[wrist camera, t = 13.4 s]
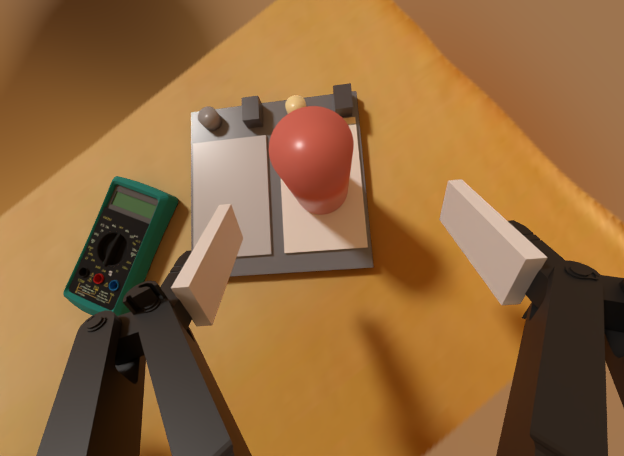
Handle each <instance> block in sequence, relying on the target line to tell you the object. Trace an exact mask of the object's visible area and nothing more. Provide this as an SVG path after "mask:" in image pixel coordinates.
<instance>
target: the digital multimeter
mask: <svg viewBox="0 0 624 456" xmlns="http://www.w3.org/2000/svg"><path fill="white" fill-rule="evenodd" d="M177 204H178V199H177V198H176V197H174V196H172V195H170V194H168V193H165V192H163V191H161V190H158V189H156V188H153V187H150V186H148V185H145V184H142V183H140V182H137V181H133V180H130V179H126V178H122V177H118V176H116V177H114V179H113V180H112V182H111V185H110V187H109V190H108V192H107V194H106V197H105V199H104V202H103V204H102V207H101V209H100V211H99V214H98V216H97V219H96V221H95V223H94V226H93V228H92V230H91V232H90V235H89V237H88V239H87V242H86V244H85V246H84V248H83V251H82V253H81V255H80V257H79V259H78V261H77V264H76V266H75V268H74V270H73V272H72V275H71V277H70V279H69V281H68V283H67V285H66V288H65V290H64V293H63V294H64V296H65V297H66V298H67V299H68V300H69V301H70V302H71V303H73V304H74V305H75V306H77V307H78V308H79V309H81V310H82V311H84V312H86V313H88V314H91V315H95V314H97V313H99V312H102V311H105V310H109V311H112V312H114V313H115V314H116V315H117V316H119V315H122V314H125V313H128V312H131V311H130V310H129V309H128V308H127V307H126V306H125V305H124V304H123V298H124V296H125V295H126V293H127V292H128V291H129V290H130V289H131V288H133V287H134V286H136V285H138V284H140V283H142V282H144V281H145V278H146V275H147V273H148V270H149V268H150V265H151V262H152V260H153V258H154V255H155V253H156V251H157V248H158V246H159V244H160V241H161V239H162V236H163V234H164V232H165V230H166V228H167V225H168V223H169V221H170V219H171V217H172V215H173V213H174V211H175V208H176V206H177ZM146 231H147V232H146ZM143 238H144V239H143ZM141 243H142V244H141ZM138 250H139V251H138ZM136 255H137V256H136ZM133 262H134V263H133ZM114 266H115V267H114ZM128 274H129V275H128ZM101 306H102V307H101Z"/></svg>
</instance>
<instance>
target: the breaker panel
mask: <svg viewBox="0 0 624 456" xmlns="http://www.w3.org/2000/svg"><path fill="white" fill-rule="evenodd" d="M307 106H319V107H324V108H327V109H330V110H332V111H334V112H336V113H337V114H339V115H340V116H341V117H342V118H343V119H344V120H345V121H346V123H347V124H348V126H349V128H350V130H351V132H352V136H353V141H354V148H353V156H352V164H351V171H350V179H349V186H348V193H347V197H346V199H345V201H344V203H343V204H342V205H341V206H340V207H339V208H338V209H337V210H335V211H334V212H331V213H329V214H324V215H318V214H313V213H310V212H308V211H307V210H305V209H304V208H303V207H302V206H301V205H300V204H299V202H298V201H297V199H296V198H295V197H294V195H293V194H292V193H291V191H290V190H289V189H288V187H287V186H286V184H285V183H284V182H283V180H282V179H281V178H280V176H279V175H278V174H277V172H276V171H275V169H274V168H273V166H272V163H271V161H270V157H269V141H270V137H271V134H272V132H273V130H274V128H275V127H276V125H277V124H278V123H279V121H280V120H281V119H282V118H283V117H285V116H286V115H287V114H289V113H290V112H292V111H294V110H296V109H299V108H302V107H307ZM223 204H231V205H232V208H233V211H234V213H235V216H236V219H237V222H238V224H239V227H240V230H241V233H242V236H243V240H242V243H241V246H240V249H239V252H238V254H237V257H236V260H235V263H234V266H233V268H232V271H231V274H230V276H244V275H260V274H276V273H291V272H307V271H323V270H339V269H355V268H371V267H373V257H372V247H371V236H370V226H369V216H368V206H367V195H366V185H365V175H364V165H363V154H362V144H361V134H360V124H359V113H358V103H357V93H356V91H353V92H352V91H351V83H350V84H343V85H335V86H333V94H330V95H322V96H315V97H307V98H303V97H302V96H299V95H293V96H291V97H289V98H288V99H287V100H284V101H276V102H268V103H261V101H260V99H259V97H258V96H252V97H245V98H242V106H237V107H230V108H222V109H214V108H212V107H204V108H202V109H201V110H200V111H199V112H191V236H192V251H193V249H194V247H195V246H196V244H197V242H198V240H199V239H200V237H201V235H202V234H203V232H204V230H205V228H206V227H207V225H208V223H209V222H210V220H211V218H212V216H213V215H214V213H215V211H216V209H217V208H218V206H219V205H223Z"/></svg>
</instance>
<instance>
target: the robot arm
mask: <svg viewBox="0 0 624 456" xmlns="http://www.w3.org/2000/svg"><path fill="white" fill-rule="evenodd" d="M440 221H441V222H442V224H443V225H444V226H445V228H446V229H447V230H448V232H449V233H450V235H451V236H452V237H453V239H454V240H455V241H456V243H457V244H458V246H459V247H460V248H461V250H462V251H463V253H464V254H465V255H466V257H467V258H468V259H469V261H470V262H471V264H472V265H473V266H474V268H475V269H476V270H477V272H478V273H479V275H480V276H481V277H482V279H483V280H484V282H485V283H486V284H487V286H488V287H489V288H490V290H491V291H492V293H493V294H494V295H495V297H496V298H497V299H498V301H499V302H500V304H501V305H512V304H520V303H521V302H522V300H523V298H524V297H525V295H526V296H527V297H528V298H529V299H530V300H531V301H532V303H531V304H530V306H529V308H528V309H527V311H526V312H525V314H524V315H523V317H522V318H523V319H526V322H525V326H524V331H523V336H522V340H521V345H520V349H519V354H518V359H517V363H516V368H515V372H514V377H513V381H512V386H511V391H510V396H509V400H508V404H507V409H506V414H505V418H504V423H503V427H502V432H501V437H500V441H499V446H498V450H497V455H496V456H608V444H607V410H606V409H607V407H606V371H605V361H606V363H607V366H608V368H609V371H610V373H611V376H612V379H613V381H614V384H615V386H616V389H617V392H618V394H619V397H620V399H621V402H622V404H623V407H624V278H618V277H611V276H603V275H600V274H599V273H598V272H597V271H596V270H594V269H592V268H591V267H589V266H587V265H584V264H581V263H579V262H574V261H565V260H564V259H563V258H562V257H561V256H559V255H558V254H557V253H556V252H555V251H554V250H552V249H551V248H550V247H549V246H548V245H547V244H545V243H544V242H543V241H542V240H541V241H540V238H538V237H537V236H536V235H534V234H533V232H531V231H530V230H529V229H528V228H527V227H526V226H524V225H522V224H520V223H518V222H516V221H514V220H512V221H507V220H506V219H505V218H503V217H502V216H501V215H500V214H499V213H498V212H497V211H496V210H495V209H494V208H492V207H491V206H490V205H489V204H488V203H487V202H486V201H485V200H484V199H483V198H481V197H480V196H479V195H478V194H477V193H476V192H475V191H474V190H473V189H472V188H470V187H469V186H468V185H467V184H466V183H465V182H464V181H463V180H452V181H448V184H447V188H446V193H445V197H444V202H443V206H442V211H441V215H440ZM242 240H243V236H242V233H241V230H240V227H239V224H238V222H237V219H236V216H235V213H234V211H233V208H232V205H231V204H223V205H219V206H218V208H217V209H216V211H215V213H214V215H213V216H212V218H211V220H210V222H209V223H208V225H207V227H206V228H205V230H204V232H203V234H202V235H201V237H200V239H199V240H198V242H197V244H196V246H195V247H194V249H193V251H186V252H185V253H184V254H183V255H181V256H180V257H179V258H178V260H177V261H176V263H175V265H174V267H173V268H172V269H171V271H170V273H169V274H168V276H167V277H166V279H165V280H164V282H163V284H162V285H161V287H160V286H159V285H158V284H157V283H156V282H155V281H145V282H142V283H140V284H138V285H136V286H134V287H133V288H131V289H130V290H129V291H128V292H127V293H126V295H125V296H124V298H123V304H124V305H125V306H126V307H127V308H128V309H129V310H130V311H131V312H128V313H125V314H122V315H119V316H117V315H116V314H115V313H114V312H112V311H109V310H105V311H102V312H99V313H97V314H95V315H93V316H91V317H90V318H89V319H87V320H86V321H85V322H84V323H83V324H82V325H81V326H80V328H79V330H78V332H77V335H76V338H75V341H74V344H73V347H72V350H71V353H70V356H69V359H68V362H67V365H66V368H65V371H64V374H63V377H62V380H61V383H60V386H59V389H58V392H57V395H56V398H55V401H54V404H53V407H52V410H51V413H50V416H49V419H48V422H47V425H46V428H45V431H44V434H43V437H42V440H41V443H40V446H39V449H38V452H37V455H36V456H139V455H140V440H141V425H142V410H143V395H144V380H145V365H146V361H147V365H148V369H149V372H150V376H151V380H152V383H153V387H154V391H155V394H156V398H157V402H158V405H159V409H160V413H161V416H162V420H163V424H164V427H165V431H166V435H167V439H168V442H169V446H170V450H171V453H172V456H252V455H251V453H250V451H249V449H248V447H247V445H246V443H245V441H244V439H243V437H242V435H241V433H240V430H239V428H238V426H237V424H236V422H235V420H234V418H233V416H232V414H231V412H230V410H229V408H228V406H227V404H226V402H225V399H224V397H223V395H222V393H221V391H220V389H219V387H218V385H217V383H216V381H215V379H214V377H213V375H212V373H211V371H210V369H209V366H208V364H207V362H206V360H205V358H204V356H203V354H202V352H201V350H200V348H199V346H198V344H197V342H196V340H195V338H194V335H193V333H192V331H191V330H190V328H189V324H190V322H191V320H193V322H194V323H195V325H196V326H208V325H212V324H213V322H214V319H215V316H216V313H217V310H218V308H219V305H220V302H221V299H222V296H223V294H224V291H225V288H226V285H227V282H228V280H229V277H230V274H231V271H232V268H233V266H234V263H235V260H236V257H237V254H238V252H239V249H240V246H241V243H242Z"/></svg>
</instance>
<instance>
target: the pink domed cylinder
mask: <svg viewBox="0 0 624 456" xmlns="http://www.w3.org/2000/svg"><path fill="white" fill-rule="evenodd" d="M353 148H354V141H353V136H352V132H351V130H350V128H349V126H348V124H347V123H346V121H345V120H344V119H343V118H342V117H341V116H340V115H339V114H337V113H336V112H334V111H332V110H330V109H327V108H324V107H319V106H307V107H302V108H299V109H296V110H294V111H292V112H290V113H289V114H287V115H286V116H285V117H283V118H282V119H281V120H280V121H279V123H278V124H277V125H276V127H275V128H274V130H273V132H272V134H271V137H270V141H269V157H270V161H271V163H272V166H273V168H274V169H275V171H276V172H277V174H278V175H279V176H280V178H281V179H282V180H283V182H284V183H285V184H286V186H287V187H288V189H289V190H290V191H291V193H292V194H293V195H294V197H295V198H296V199H297V201H298V202H299V204H300V205H301V206H302V207H303V208H304V209H305V210H307V211H308V212H310V213H313V214H318V215H324V214H329V213H331V212H334V211H335V210H337V209H338V208H339V207H340V206H341V205H342V204H343V203H344V201H345V199H346V197H347V193H348V186H349V179H350V171H351V164H352V156H353Z"/></svg>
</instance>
